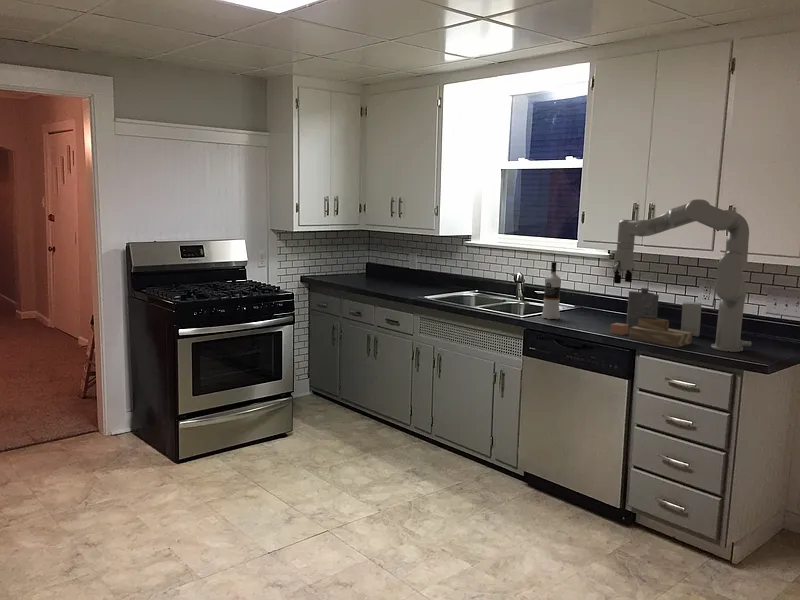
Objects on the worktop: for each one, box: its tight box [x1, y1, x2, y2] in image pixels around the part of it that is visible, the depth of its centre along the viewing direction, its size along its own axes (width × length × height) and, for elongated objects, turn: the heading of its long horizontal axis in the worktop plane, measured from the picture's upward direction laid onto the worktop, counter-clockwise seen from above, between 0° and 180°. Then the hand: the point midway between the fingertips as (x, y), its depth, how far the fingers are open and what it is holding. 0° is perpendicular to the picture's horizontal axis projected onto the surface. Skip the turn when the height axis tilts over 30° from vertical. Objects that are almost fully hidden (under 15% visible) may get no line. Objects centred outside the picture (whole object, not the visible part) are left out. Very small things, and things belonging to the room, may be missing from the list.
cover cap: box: [609, 322, 630, 336], centre depth 324 cm, size 6×6×4 cm
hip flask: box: [625, 287, 660, 327], centre depth 339 cm, size 16×4×20 cm, turn 39°
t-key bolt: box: [633, 306, 658, 319], centre depth 314 cm, size 6×10×5 cm, turn 42°
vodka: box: [541, 261, 562, 320], centre depth 358 cm, size 9×9×30 cm
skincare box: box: [680, 301, 702, 337], centre depth 324 cm, size 8×7×16 cm
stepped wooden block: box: [628, 317, 693, 348], centre depth 309 cm, size 14×23×10 cm, turn 42°
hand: (622, 282), depth 321 cm, fingers open, 9 cm apart
